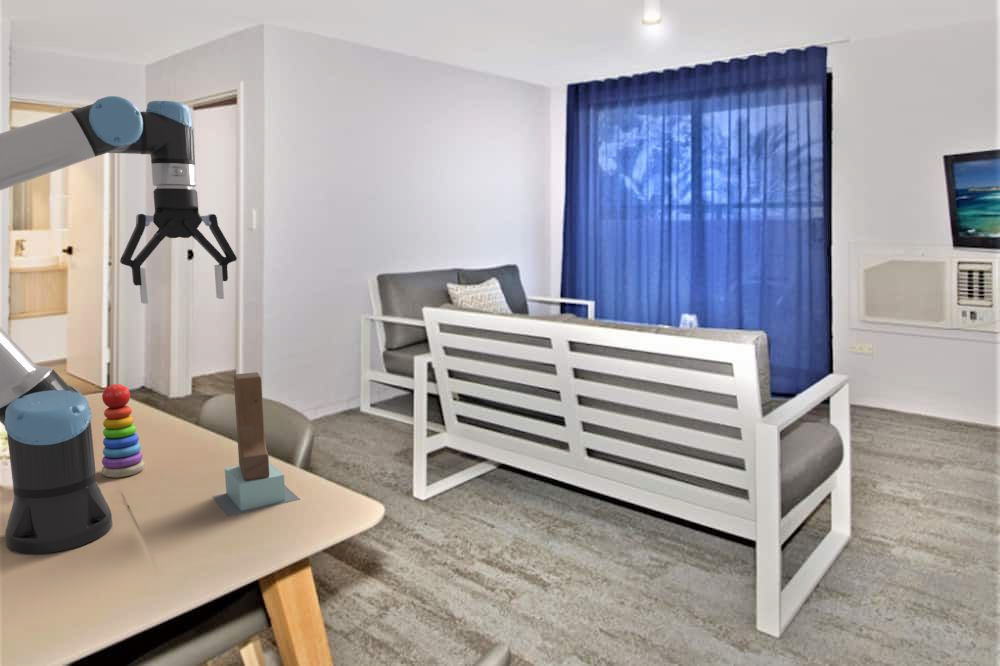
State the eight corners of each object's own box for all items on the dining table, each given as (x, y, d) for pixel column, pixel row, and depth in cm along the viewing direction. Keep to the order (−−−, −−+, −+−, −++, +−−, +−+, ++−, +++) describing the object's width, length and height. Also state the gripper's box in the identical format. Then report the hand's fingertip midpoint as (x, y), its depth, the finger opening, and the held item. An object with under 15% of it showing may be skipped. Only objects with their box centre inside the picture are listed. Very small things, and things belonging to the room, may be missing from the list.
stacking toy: (153, 466, 151) (146, 380, 148) (130, 479, 143) (122, 389, 140) (118, 465, 152) (110, 379, 149) (93, 478, 144) (85, 388, 141)
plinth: (241, 510, 127) (239, 484, 126) (226, 493, 135) (224, 468, 134) (285, 500, 131) (283, 474, 130) (268, 484, 139) (267, 460, 138)
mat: (228, 519, 124) (228, 515, 124) (212, 499, 133) (212, 496, 133) (300, 502, 132) (300, 499, 132) (281, 484, 141) (280, 481, 141)
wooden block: (269, 477, 129) (264, 381, 126) (243, 481, 127) (237, 383, 124) (263, 462, 137) (258, 371, 134) (239, 466, 135) (233, 373, 132)
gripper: (102, 185, 123) (112, 307, 126) (248, 189, 137) (254, 298, 140) (97, 187, 129) (107, 303, 132) (237, 190, 143) (244, 294, 146)
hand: (183, 300), depth 136 cm, fingers open, 13 cm apart
